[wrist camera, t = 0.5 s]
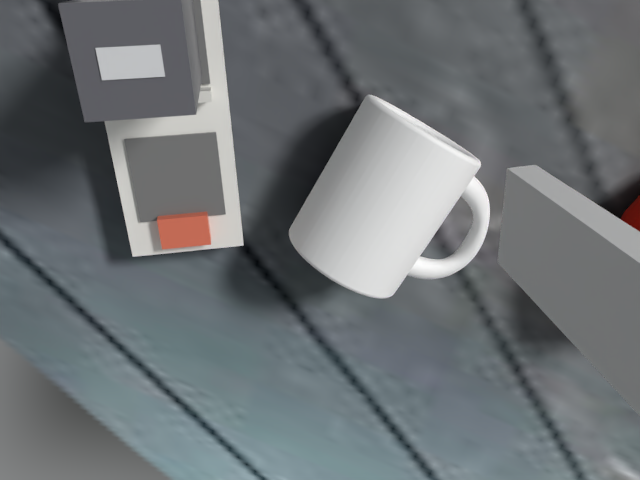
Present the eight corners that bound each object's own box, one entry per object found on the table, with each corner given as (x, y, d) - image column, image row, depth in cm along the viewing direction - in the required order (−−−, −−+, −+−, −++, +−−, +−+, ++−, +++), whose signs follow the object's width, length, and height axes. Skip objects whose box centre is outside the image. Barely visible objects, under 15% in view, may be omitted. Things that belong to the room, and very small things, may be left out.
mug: (281, 213, 38) (295, 268, 31) (354, 82, 35) (388, 111, 28) (419, 275, 42) (459, 337, 35) (495, 164, 39) (556, 207, 32)
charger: (103, -7, 28) (57, 3, 20) (191, -10, 29) (180, -2, 21) (120, 81, 30) (84, 122, 22) (202, 76, 31) (195, 115, 23)
